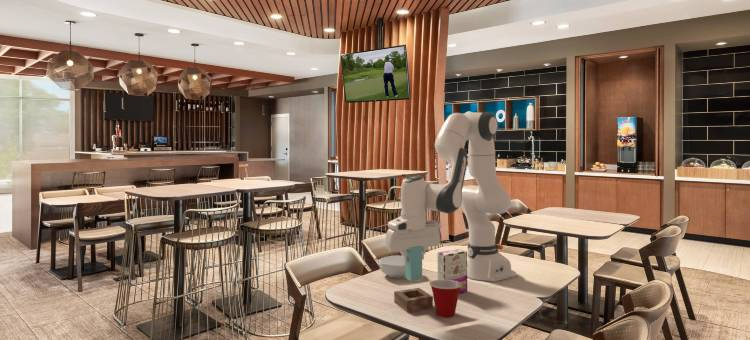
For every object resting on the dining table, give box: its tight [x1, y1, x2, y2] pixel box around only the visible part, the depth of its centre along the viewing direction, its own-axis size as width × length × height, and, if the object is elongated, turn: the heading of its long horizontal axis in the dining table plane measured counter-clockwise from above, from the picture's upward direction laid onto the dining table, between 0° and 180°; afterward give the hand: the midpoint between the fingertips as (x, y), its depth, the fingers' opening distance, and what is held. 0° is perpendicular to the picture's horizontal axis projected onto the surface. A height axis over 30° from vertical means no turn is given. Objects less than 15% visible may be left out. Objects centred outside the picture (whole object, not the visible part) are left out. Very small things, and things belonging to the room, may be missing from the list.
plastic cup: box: [429, 279, 462, 319], centre depth 157 cm, size 11×11×12 cm
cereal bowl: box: [378, 255, 406, 280], centre depth 202 cm, size 17×17×7 cm
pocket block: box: [393, 287, 434, 313], centre depth 166 cm, size 10×10×5 cm
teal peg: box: [404, 246, 423, 282], centre depth 165 cm, size 4×4×12 cm
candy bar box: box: [437, 248, 468, 294], centre depth 180 cm, size 11×5×16 cm, turn 117°
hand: (413, 260), depth 165 cm, fingers closed on teal peg, 4 cm apart
